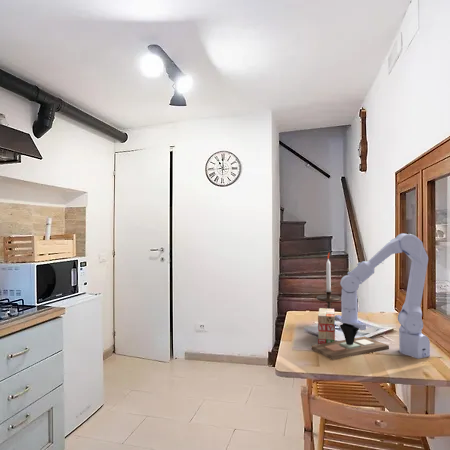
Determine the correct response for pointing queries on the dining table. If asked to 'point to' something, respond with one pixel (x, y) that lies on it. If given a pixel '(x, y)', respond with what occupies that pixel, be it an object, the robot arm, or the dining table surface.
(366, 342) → the cream tile
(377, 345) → the tap panel
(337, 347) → the terracotta tile
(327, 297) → the candlestick
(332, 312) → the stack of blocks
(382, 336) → the dining table surface
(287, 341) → the dining table surface
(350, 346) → the sage tile
